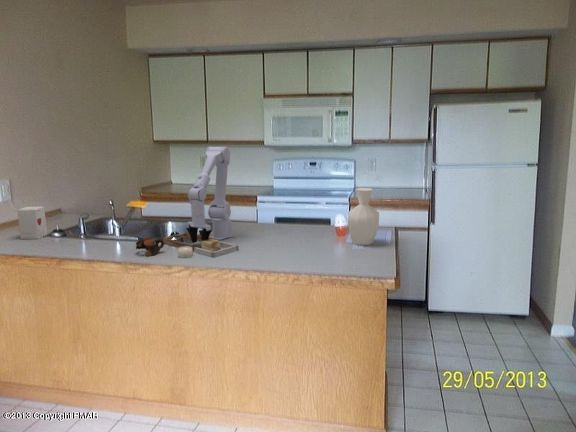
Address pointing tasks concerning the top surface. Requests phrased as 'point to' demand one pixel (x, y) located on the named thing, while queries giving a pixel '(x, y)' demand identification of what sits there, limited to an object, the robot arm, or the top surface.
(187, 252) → the cream egg-shaped dome
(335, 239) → the top surface
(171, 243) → the brown u-shaped frame
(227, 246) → the grey corral
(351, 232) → the vase
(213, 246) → the oak block
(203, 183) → the robot arm
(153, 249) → the pottery mug
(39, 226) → the supplement box
